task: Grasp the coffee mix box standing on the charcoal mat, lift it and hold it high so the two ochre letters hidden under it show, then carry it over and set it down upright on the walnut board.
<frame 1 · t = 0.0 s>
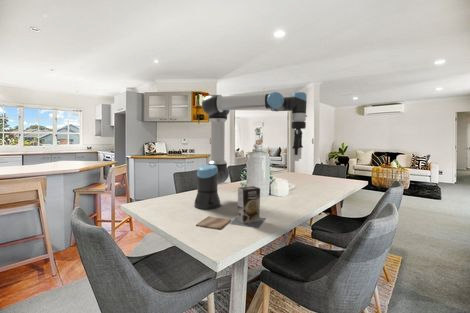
hand: (297, 160, 129), 28 cm above the table, tool pointing down, fingers open, 13 cm apart
code mat: (248, 220, 112), on the table
walnut board: (214, 223, 109), on the table
coffee box: (248, 221, 112), resting on code mat
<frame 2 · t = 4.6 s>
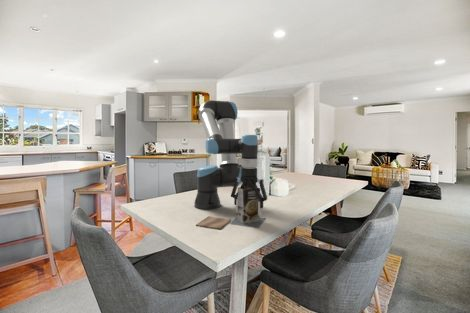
hand: (248, 213, 112), 4 cm above the table, tool pointing down, fingers closed on coffee box, 10 cm apart
coffee box: (248, 221, 112), resting on code mat, touching gripper
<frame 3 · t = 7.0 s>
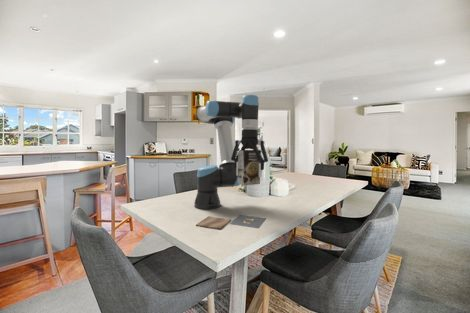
hand: (248, 176, 111), 22 cm above the table, tool pointing down, fingers closed on coffee box, 10 cm apart
coffee box: (248, 184, 111), point 18 cm above the table, touching gripper
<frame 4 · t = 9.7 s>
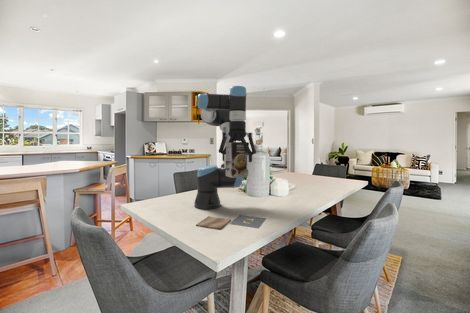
hand: (236, 168, 109), 26 cm above the table, tool pointing down, fingers closed on coffee box, 10 cm apart
coffee box: (237, 176, 110), point 22 cm above the table, touching gripper
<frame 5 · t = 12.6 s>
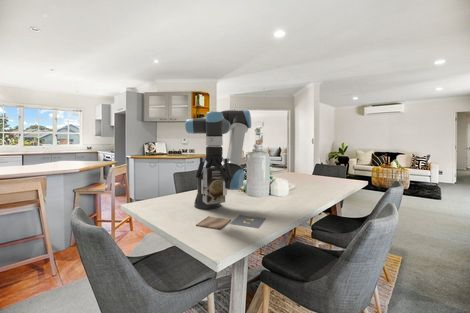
hand: (214, 194, 108), 14 cm above the table, tool pointing down, fingers closed on coffee box, 10 cm apart
coffee box: (214, 202, 108), point 10 cm above the table, touching gripper
when the fingers open (6 cm above the table, at t = 15.2 s): coffee box drops 1 cm, resting on walnut board.
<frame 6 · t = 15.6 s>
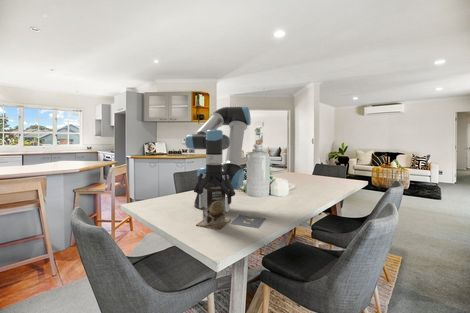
hand: (214, 209, 108), 7 cm above the table, tool pointing down, fingers open, 13 cm apart
coffee box: (214, 222, 109), resting on walnut board
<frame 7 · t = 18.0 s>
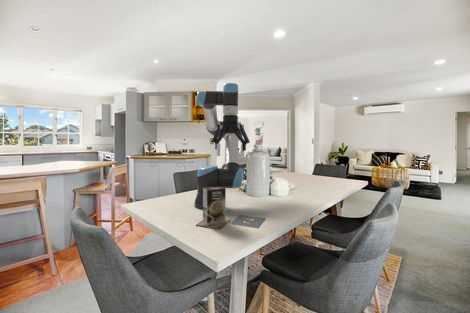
hand: (230, 156, 120), 30 cm above the table, tool pointing down, fingers open, 13 cm apart
nothing on the table moved.
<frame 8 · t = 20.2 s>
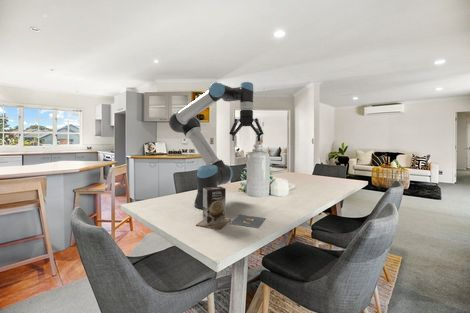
hand: (245, 146, 136), 35 cm above the table, tool pointing down, fingers open, 13 cm apart
nothing on the table moved.
at the end: coffee box inside the target area (0.0 cm from its centre), resting on walnut board; coffee box tilted 0°; the gripper is holding nothing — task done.
